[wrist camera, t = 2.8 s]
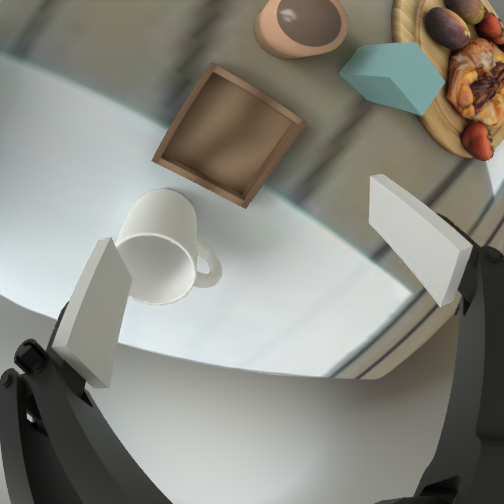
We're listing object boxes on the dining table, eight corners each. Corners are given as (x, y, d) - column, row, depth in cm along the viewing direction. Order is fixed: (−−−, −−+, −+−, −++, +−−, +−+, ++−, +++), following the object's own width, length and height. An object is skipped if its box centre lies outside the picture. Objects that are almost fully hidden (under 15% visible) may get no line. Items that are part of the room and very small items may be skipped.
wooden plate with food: (483, 180, 36) (514, 200, 29) (359, 100, 27) (402, 110, 20) (516, 48, 20) (547, 55, 14) (403, -66, 11) (439, -78, 4)
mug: (236, 222, 34) (248, 276, 26) (201, 269, 37) (202, 328, 29) (149, 174, 29) (128, 216, 20) (120, 229, 32) (97, 283, 24)
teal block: (337, 73, 25) (389, 77, 17) (360, 45, 23) (415, 42, 15) (368, 101, 27) (422, 116, 19) (388, 74, 25) (445, 82, 17)
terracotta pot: (240, 35, 22) (250, 22, 16) (277, -8, 19) (298, -29, 13) (295, 71, 25) (320, 69, 19) (330, 28, 22) (362, 19, 16)
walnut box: (155, 154, 28) (151, 160, 26) (210, 64, 23) (211, 62, 21) (242, 199, 32) (245, 208, 30) (299, 119, 28) (307, 123, 26)
